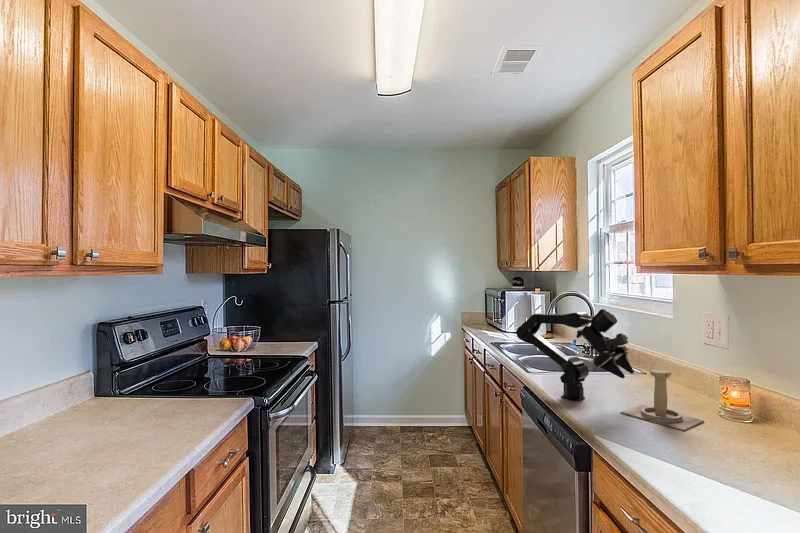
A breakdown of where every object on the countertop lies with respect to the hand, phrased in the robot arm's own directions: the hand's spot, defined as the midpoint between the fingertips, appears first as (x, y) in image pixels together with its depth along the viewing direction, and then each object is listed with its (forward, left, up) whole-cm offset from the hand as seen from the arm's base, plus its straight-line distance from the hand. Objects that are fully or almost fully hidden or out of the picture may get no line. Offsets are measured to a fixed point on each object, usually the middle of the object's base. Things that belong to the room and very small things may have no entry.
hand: (628, 375), depth 154 cm
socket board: (+10, +2, -12) cm, 16 cm away
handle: (+10, +2, -12) cm, 16 cm away
